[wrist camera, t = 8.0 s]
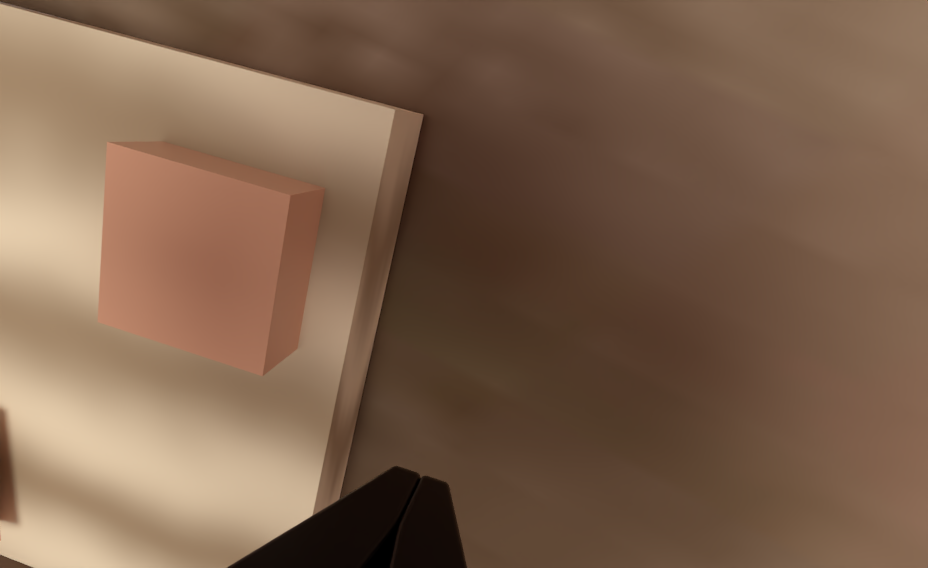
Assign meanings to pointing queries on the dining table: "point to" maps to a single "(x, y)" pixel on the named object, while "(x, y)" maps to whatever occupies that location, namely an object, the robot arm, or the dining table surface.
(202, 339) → the tile
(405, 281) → the dining table surface
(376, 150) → the large cream board
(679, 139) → the dining table surface
